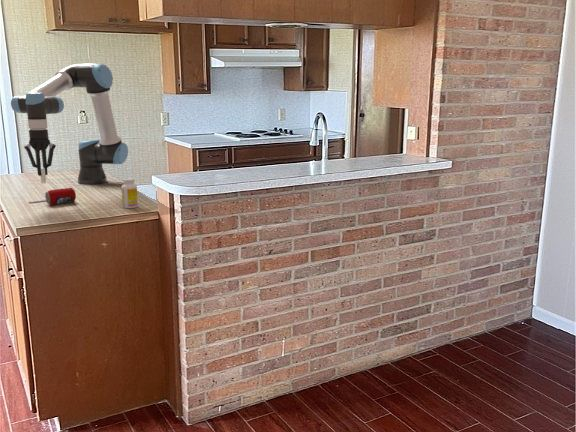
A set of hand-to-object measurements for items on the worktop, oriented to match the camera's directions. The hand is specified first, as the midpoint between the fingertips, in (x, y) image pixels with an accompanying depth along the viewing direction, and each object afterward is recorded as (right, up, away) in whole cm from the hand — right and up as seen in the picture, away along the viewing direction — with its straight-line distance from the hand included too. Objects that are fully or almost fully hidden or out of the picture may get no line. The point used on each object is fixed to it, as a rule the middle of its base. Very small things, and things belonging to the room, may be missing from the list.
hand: (43, 182), depth 245 cm
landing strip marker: (-4, -8, +15) cm, 17 cm away
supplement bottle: (+38, -11, +4) cm, 39 cm away
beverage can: (+9, -5, +12) cm, 16 cm away
